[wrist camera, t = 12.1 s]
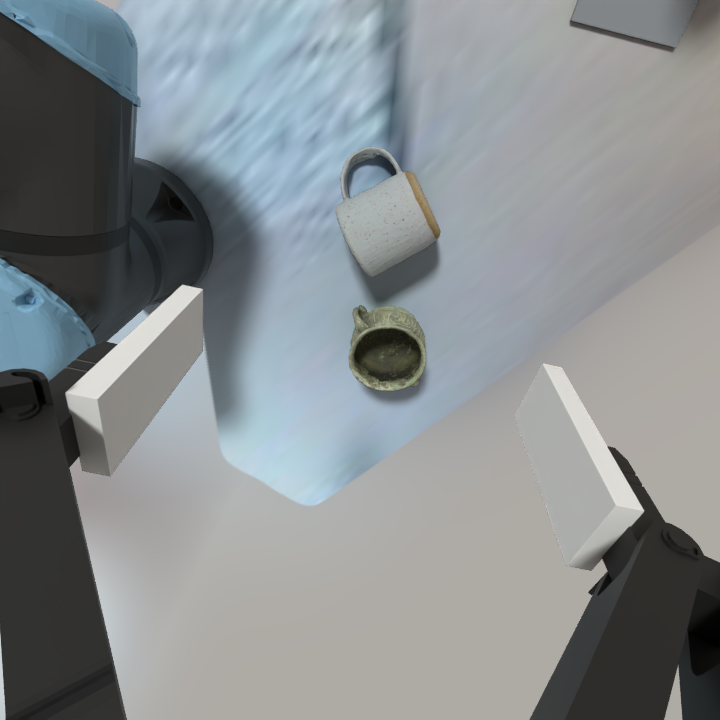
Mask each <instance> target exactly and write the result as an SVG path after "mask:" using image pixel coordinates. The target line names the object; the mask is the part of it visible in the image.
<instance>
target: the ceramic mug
mask: <svg viewBox="0 0 720 720" xmlns="http://www.w3.org/2000/svg"><path fill="white" fill-rule="evenodd" d="M377 155H380V156H383V157H384V158H386V159H388V160H389V161H390V162H391V163H392V164H393V166H394V168H395V170H396V175H394V176H392V177H390V178H388V179H386V180H384V181H383V182H381V183H379V184H378V185H376V186H374V187H372V188H370V189H368V190H366V191H364V192H362V193H360V194H358V195H356V196H354V197H352V198H349V194H348V189H347V178H348V174H349V171H350V169H351V168H352V167H353V166H354V165H356V164H358V163H360V162H362V161H364V160H367V159H370V158H371V159H374V158H375V157H376V156H377ZM340 180H341V191H342V196H343V199H344V201H343V202H342V203H340V204H339V205H337V206H336V216H337V220H338V223H339V225H340V228H341V230H342V233H343V235H344V238H345V240H346V242H347V244H348V246H349V248H350V249H351V251H352V253H353V255H354V257H355V258H356V260H357V261H358V263H359V265H360V266H361V268H362V269H363V270H364V272H365V273H366V274H368V275H369V276H371V277H374V276H376V275H378V274H380V273H381V272H383V271H385V270H387V269H388V268H390V267H392V266H394V265H396V264H398V263H399V262H401V261H403V260H405V259H406V258H408V257H410V256H411V255H413V254H415V253H417V252H419V251H421V250H423V249H424V248H426V247H428V246H429V245H431V244H432V243H433V242H435V241H436V240H437V239H438V238H439V236H440V232H441V231H440V228H439V226H438V224H437V222H436V220H435V217H434V215H433V213H432V211H431V209H430V207H429V204H428V202H427V200H426V198H425V196H424V193H423V191H422V189H421V187H420V185H419V183H418V180H417V178H416V176H415V174H414V173H412V172H402V171H401V169H400V167H399V165H398V164H397V162H396V160H395V159H394V158H393V157H392V155H390V154H389V153H388V152H387V151H385V150H383V149H381V148H378V147H366V148H363V149H361V150H359V151H357V152H355V153H353V154H352V155H351V156H350V157H349V158H348V159H347V160H346V162H345V164H344V166H343V169H342V172H341V178H340Z"/></svg>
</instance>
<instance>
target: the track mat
mask: <svg viewBox="0 0 720 720" xmlns="http://www.w3.org/2000/svg"><path fill="white" fill-rule="evenodd" d="M698 1H699V0H578V1H577V4H576V7H575V9H574V12H573V15H572V17H571V20H570V21H573V22H577V23H580V24H584V25H588V26H592V27H596V28H600V29H604V30H607V31H611V32H615V33H619V34H623V35H627V36H630V37H634V38H638V39H642V40H646V41H650V42H654V43H657V44H661V45H665V46H669V47H673V48H676V46H677V44H678V42H679V40H680V38H681V36H682V34H683V32H684V30H685V28H686V26H687V24H688V22H689V20H690V18H691V16H692V14H693V12H694V10H695V8H696V6H697V4H698Z"/></svg>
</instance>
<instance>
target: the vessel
mask: <svg viewBox="0 0 720 720" xmlns="http://www.w3.org/2000/svg"><path fill="white" fill-rule="evenodd" d="M359 315H360V316H359ZM361 318H362V319H361ZM353 319H354V322H355V326H356V327H355V329H354V332H353V336H352V339H351V349H350V353H349V367H350V369H351V371H352V373H353V374H354V376H355V377H356V379H357V380H359V381H360V382H361V383H363V384H364V385H366V386H367V387H369V388H372V389H375V390H379V391H396V390H401V389H403V388H406V387H408V386H417V385H418V384H419V382H420V379H419V377H420V376H421V374H422V373H423V370H424V367H425V364H426V351H425V336H424V333H423V331H422V329H421V327H420V325H419V323H418V322H417V321H416V319H415V317H414V316H413V315H412V314H411V313H409V312H408V311H407V310H405V309H403V308H399V307H396V306H381V307H377V308H375V309H372V310H371V311H369V312H368V313H367V310H366V308H365V307H364V306H362V305H360V306H359V307H357V308H355V309H354V310H353Z"/></svg>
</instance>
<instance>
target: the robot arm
mask: <svg viewBox="0 0 720 720" xmlns="http://www.w3.org/2000/svg"><path fill="white" fill-rule="evenodd" d="M137 54H138V53H137V44H136V40H135V37H134V35H133V33H132V31H131V29H130V27H129V26H128V24H127V23H126V22H125V21H124V19H123V18H122V17H121V16H120V15H119V14H118V13H116V12H115V11H114V10H112V9H110V8H109V7H107V6H105V5H103V4H101V3H99V2H97V1H95V0H0V634H1V648H2V664H3V678H4V695H5V710H6V720H127V718H126V714H125V710H124V706H123V701H122V696H121V692H120V688H119V684H118V679H117V674H116V670H115V666H114V661H113V657H112V653H111V648H110V644H109V639H108V636H107V631H106V626H105V623H104V617H103V613H102V609H101V604H100V600H99V596H98V591H97V587H96V582H95V578H94V574H93V569H92V565H91V561H90V556H89V552H88V548H87V543H86V539H85V535H84V530H83V526H82V521H81V517H80V512H79V508H78V504H77V499H76V496H75V491H74V486H73V482H72V477H71V473H70V469H69V467H70V466H71V465H72V464H73V463H74V462H75V460H76V459H77V458H78V457H79V458H80V463H81V467H82V471H86V472H91V473H96V474H101V475H106V476H111V475H112V473H113V472H114V471H115V469H116V468H117V467H118V465H119V464H120V463H121V461H122V460H123V458H124V457H125V456H126V454H127V453H128V452H129V450H130V449H131V448H132V446H133V445H134V444H135V442H136V441H137V439H138V438H139V437H140V435H141V434H142V433H143V431H144V430H145V429H146V427H147V426H148V425H149V423H150V422H151V420H152V419H153V418H154V416H155V415H156V414H157V412H158V411H159V410H160V408H161V407H162V406H163V404H164V403H165V402H166V400H167V398H168V397H169V396H170V395H171V393H172V392H173V391H174V389H175V388H176V387H177V385H178V384H179V382H180V381H181V380H182V379H183V377H184V376H185V374H186V373H187V372H188V370H189V369H190V367H191V366H192V365H193V364H194V362H195V361H196V360H197V358H198V357H199V355H200V354H201V353H202V351H203V289H200V288H195V287H194V286H195V285H196V284H197V283H198V282H199V281H200V280H201V279H202V278H203V277H204V275H205V274H206V272H207V270H208V268H209V266H210V263H211V259H212V254H213V238H212V232H211V227H210V224H209V221H208V218H207V216H206V214H205V211H204V210H203V208H202V206H201V204H200V203H199V201H198V199H197V198H196V197H195V195H194V194H193V193H192V191H191V190H190V189H189V188H188V187H187V186H186V185H185V184H184V183H183V182H182V181H181V180H180V179H179V178H177V177H176V176H175V175H174V174H172V173H171V172H169V171H168V170H166V169H165V168H163V167H161V166H159V165H157V164H155V163H153V162H150V161H147V160H144V159H140V158H135V139H136V122H137V107H140V104H141V101H140V98H139V97H138V95H137ZM161 302H163V303H162V304H161V305H160V306H159V307H158V308H157V309H156V310H154V311H153V312H152V313H151V314H150V315H149V316H148V317H147V318H146V319H145V320H144V321H143V322H141V323H140V324H139V325H138V326H137V327H136V328H135V329H134V330H133V331H132V332H131V333H130V334H128V335H127V337H125V338H124V339H123V340H122V341H121V342H120V343H119V344H114V343H109V342H107V341H108V340H109V339H110V338H111V337H112V336H113V335H114V334H116V333H117V332H118V331H119V330H120V329H121V328H122V327H123V326H125V325H126V324H127V323H128V322H129V321H130V320H131V319H133V318H134V317H135V316H136V315H137V314H138V313H139V312H141V311H142V310H143V309H144V308H145V307H146V306H148V305H152V304H157V303H161ZM514 418H515V421H516V424H517V426H518V429H519V432H520V435H521V438H522V441H523V444H524V446H525V449H526V452H527V455H528V458H529V461H530V464H531V467H532V470H533V472H534V475H535V478H536V481H537V484H538V487H539V490H540V493H541V495H542V498H543V501H544V504H545V506H546V510H547V513H548V516H549V518H550V521H551V524H552V527H553V530H554V533H555V535H556V538H557V541H558V544H559V547H560V550H561V553H562V556H563V559H564V561H565V564H566V566H569V567H575V568H580V569H585V570H590V571H591V570H592V569H593V568H594V567H595V566H596V565H597V563H599V562H600V560H601V559H603V561H604V563H605V566H606V568H607V570H608V572H607V573H606V574H605V575H604V576H603V577H602V578H601V579H600V580H599V581H598V582H597V583H596V584H595V586H594V587H593V588H592V589H591V590H590V591H589V594H591V595H593V596H592V598H591V600H590V602H589V604H588V606H587V607H586V609H585V611H584V613H583V615H582V617H581V619H580V621H579V623H578V625H577V627H576V629H575V631H574V633H573V635H572V637H571V639H570V641H569V643H568V645H567V647H566V649H565V651H564V653H563V655H562V657H561V659H560V661H559V663H558V665H557V667H556V669H555V671H554V673H553V675H552V677H551V679H550V680H549V682H548V684H547V686H546V688H545V690H544V692H543V694H542V696H541V698H540V700H539V702H538V704H537V706H536V708H535V710H534V712H533V714H532V716H531V718H530V720H664V718H665V714H666V710H667V706H668V702H669V698H670V694H671V690H672V686H673V682H674V678H675V675H676V670H677V667H678V665H679V677H680V692H681V704H682V718H683V720H720V563H719V562H717V561H715V560H713V559H711V558H708V557H706V556H704V554H703V553H702V551H701V549H700V547H699V545H698V544H697V543H696V542H695V541H694V540H693V539H692V538H691V537H690V536H689V535H688V534H686V533H685V532H684V531H682V530H681V529H679V528H678V527H676V526H674V525H672V524H669V523H666V522H665V521H664V520H663V518H662V516H661V514H660V513H659V511H658V510H657V508H656V506H655V505H654V503H653V501H652V500H651V498H650V496H649V495H648V493H647V492H646V490H645V488H644V487H642V483H641V482H640V480H639V478H638V477H637V476H635V472H634V470H633V469H632V467H631V465H630V464H629V462H628V460H627V459H626V458H624V457H623V456H622V455H621V454H620V453H619V452H618V451H617V450H616V449H615V448H613V447H608V446H607V445H606V444H605V442H604V440H603V439H602V437H601V435H600V433H599V432H598V430H597V428H596V427H595V425H594V423H593V421H592V419H591V418H590V416H589V414H588V413H587V411H586V409H585V407H584V406H583V404H582V402H581V401H580V399H579V397H578V395H577V393H576V392H575V390H574V388H573V387H572V385H571V383H570V382H569V380H568V378H567V376H566V374H565V373H564V371H563V369H562V368H561V367H556V366H552V365H548V364H542V365H541V367H540V369H539V371H538V373H537V375H536V377H535V378H534V380H533V382H532V384H531V386H530V388H529V390H528V392H527V394H526V395H525V397H524V399H523V401H522V403H521V405H520V407H519V409H518V411H517V412H516V414H515V416H514Z"/></svg>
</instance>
